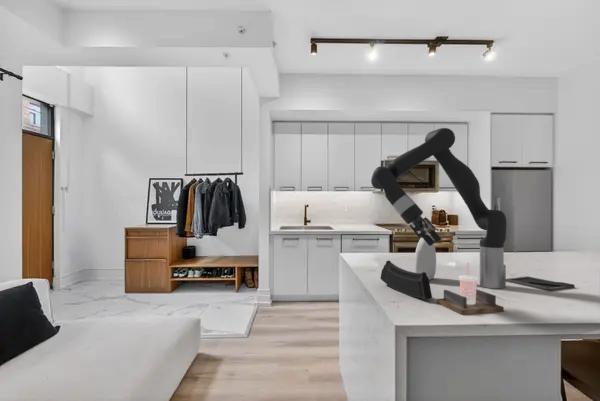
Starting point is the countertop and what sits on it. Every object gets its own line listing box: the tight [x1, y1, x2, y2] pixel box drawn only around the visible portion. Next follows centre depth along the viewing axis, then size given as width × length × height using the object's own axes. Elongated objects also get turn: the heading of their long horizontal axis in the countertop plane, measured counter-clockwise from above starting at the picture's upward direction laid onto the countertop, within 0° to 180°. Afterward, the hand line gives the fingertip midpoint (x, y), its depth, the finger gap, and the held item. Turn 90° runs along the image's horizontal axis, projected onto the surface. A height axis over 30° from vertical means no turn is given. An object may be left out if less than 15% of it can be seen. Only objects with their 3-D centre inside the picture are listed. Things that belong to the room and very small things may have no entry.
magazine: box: [380, 260, 433, 300], centre depth 149 cm, size 17×3×30 cm
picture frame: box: [506, 275, 576, 292], centre depth 163 cm, size 16×2×21 cm
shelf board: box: [436, 288, 504, 316], centre depth 129 cm, size 16×14×5 cm
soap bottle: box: [414, 224, 437, 281], centre depth 173 cm, size 14×8×27 cm, turn 127°
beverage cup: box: [458, 262, 479, 305], centre depth 129 cm, size 6×6×14 cm
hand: (435, 242), depth 137 cm, fingers open, 8 cm apart
